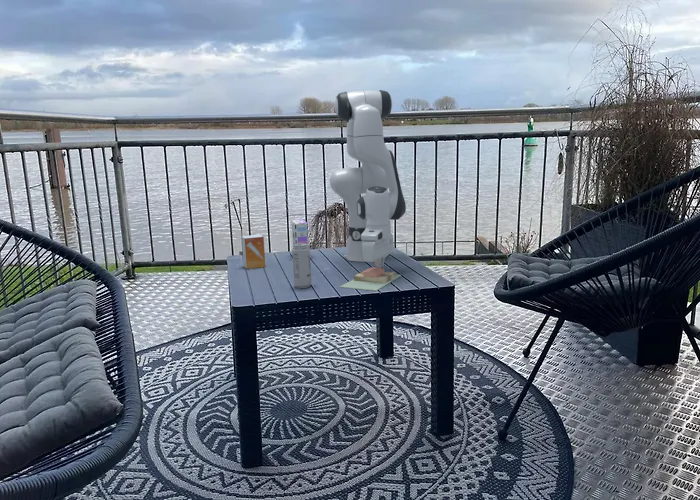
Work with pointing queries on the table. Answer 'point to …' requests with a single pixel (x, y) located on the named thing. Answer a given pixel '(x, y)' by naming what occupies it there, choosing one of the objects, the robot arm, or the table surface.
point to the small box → (253, 251)
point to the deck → (380, 279)
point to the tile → (373, 272)
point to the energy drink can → (301, 265)
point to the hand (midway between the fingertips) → (379, 269)
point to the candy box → (299, 232)
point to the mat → (366, 284)
